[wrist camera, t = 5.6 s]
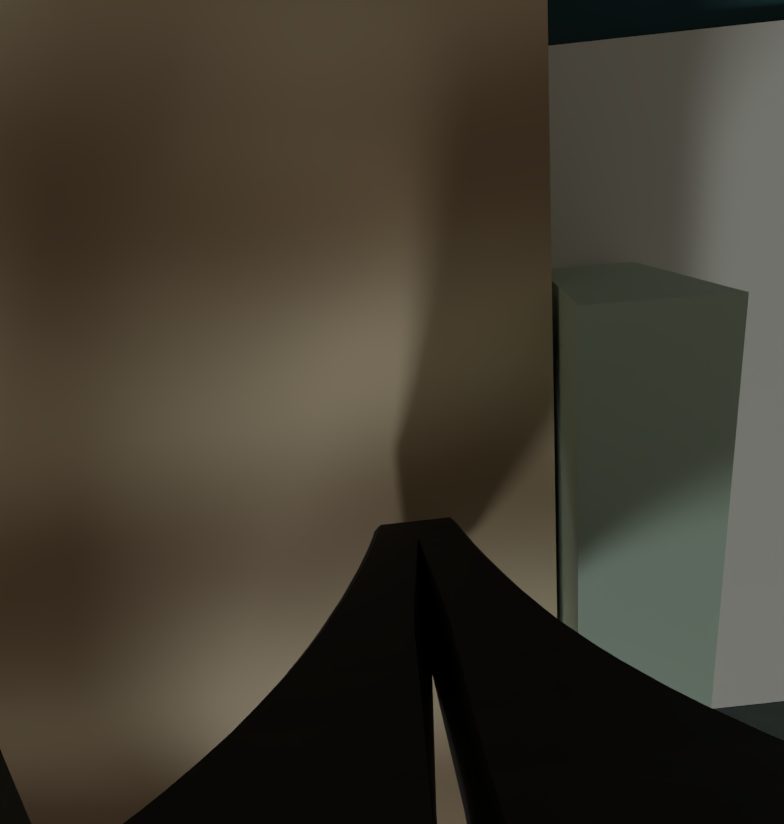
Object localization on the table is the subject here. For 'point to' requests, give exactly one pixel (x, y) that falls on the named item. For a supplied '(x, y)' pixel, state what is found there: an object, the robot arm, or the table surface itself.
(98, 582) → the riser
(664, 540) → the tile
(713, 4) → the table surface
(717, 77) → the mat
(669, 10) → the table surface
